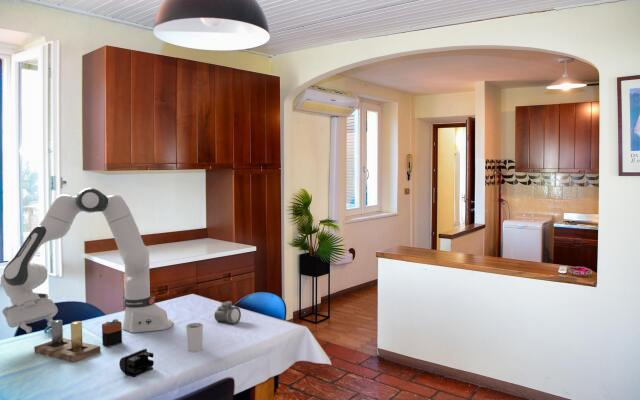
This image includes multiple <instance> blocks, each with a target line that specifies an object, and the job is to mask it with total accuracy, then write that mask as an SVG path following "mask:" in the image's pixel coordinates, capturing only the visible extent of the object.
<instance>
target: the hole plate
mask: <svg viewBox="0 0 640 400" xmlns="http://www.w3.org/2000/svg"><path fill="white" fill-rule="evenodd" d="M33 348H34V349H33V350H34V353H35V354H38V355H42V356H46V357H52V358H55V359H59V360H63V361H66V362H71V363H77V362H79V361H82V360H83V359H84V360H85V359H87V358H89V357H92V356H94V355H97V354H99V353H101V346H100V345H96V344H92V343H87V342H83V350H81V351H78V352H72V346H71V339H69V338H65V337H63V345H62V346H59V347H56V348H55V347H52V340H50V341H47V342H45V343H41V344H38V345H36V346H33Z"/></svg>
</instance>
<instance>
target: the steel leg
mask: <svg viewBox="0 0 640 400" xmlns="http://www.w3.org/2000/svg"><path fill="white" fill-rule="evenodd" d="M63 326H64V325H63V320H62V319H55V320H54V321H52V322H51V327H50V328H51V341H52V347H55V348H56V347H59V346H62V345H63V338H64V329H63Z"/></svg>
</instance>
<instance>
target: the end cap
mask: <svg viewBox="0 0 640 400" xmlns="http://www.w3.org/2000/svg"><path fill="white" fill-rule="evenodd" d="M154 356H155V355H154V352H151V351H148V350H147V348H143V349H140V350H138V351H135V352H133V353H131V354H128V355H125V356H122V357H121V358H120V359H119V364H118V365H119V369H120V371H121V373H123V374H124V375H126V376H128V377H131V378H135V377H138V376H140V375H143V374H145V373H147V372H150V371H151V370H153V369H154V367H153V366H154V362H155V361H154V360H153V359H149V358H154Z"/></svg>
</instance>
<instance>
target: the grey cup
mask: <svg viewBox="0 0 640 400" xmlns="http://www.w3.org/2000/svg"><path fill="white" fill-rule="evenodd" d="M185 328H186V342H187V351H188V352H191V353H195V352H200V351H203V335H204V334H203V333H204V332H203V329H204V324H203V323H201V322H192V323H188V324H186V326H185Z"/></svg>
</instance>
